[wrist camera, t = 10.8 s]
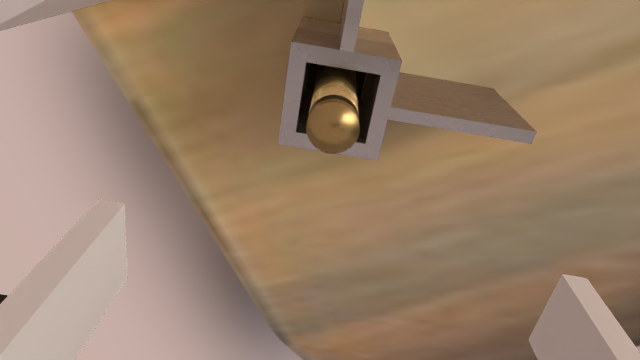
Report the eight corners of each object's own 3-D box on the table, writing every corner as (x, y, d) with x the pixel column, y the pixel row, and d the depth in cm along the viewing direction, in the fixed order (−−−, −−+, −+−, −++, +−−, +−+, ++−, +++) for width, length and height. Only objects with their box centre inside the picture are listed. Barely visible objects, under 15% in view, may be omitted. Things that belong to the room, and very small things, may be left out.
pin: (358, 52, 35) (364, 108, 24) (351, 88, 37) (353, 157, 25) (321, 45, 35) (310, 99, 24) (316, 81, 36) (302, 148, 25)
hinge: (553, -84, 31) (626, -91, 23) (478, 131, 38) (515, 183, 30) (322, -127, 30) (315, -150, 22) (291, 99, 37) (277, 144, 29)
